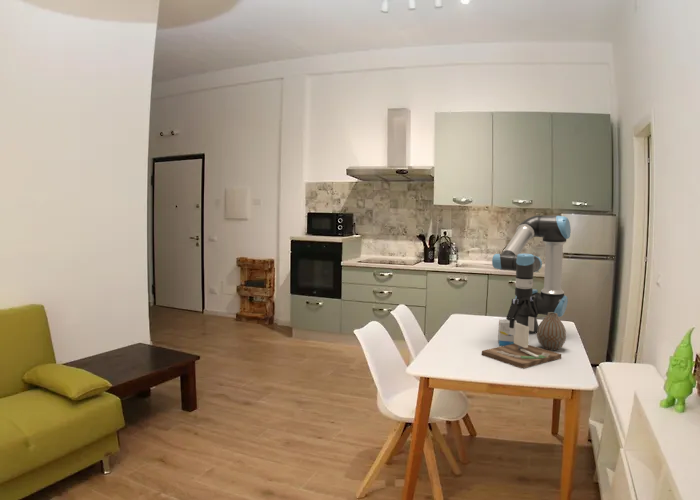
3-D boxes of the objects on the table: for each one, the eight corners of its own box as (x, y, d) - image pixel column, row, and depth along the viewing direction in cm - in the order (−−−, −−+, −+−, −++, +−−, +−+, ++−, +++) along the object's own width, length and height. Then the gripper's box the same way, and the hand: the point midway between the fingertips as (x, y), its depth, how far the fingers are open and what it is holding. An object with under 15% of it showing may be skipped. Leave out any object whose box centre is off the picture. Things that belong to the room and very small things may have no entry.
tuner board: (519, 346, 237) (520, 341, 237) (561, 358, 219) (561, 353, 219) (481, 354, 222) (481, 350, 221) (522, 368, 204) (523, 363, 203)
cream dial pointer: (513, 347, 227) (514, 323, 226) (517, 347, 227) (518, 322, 226) (535, 357, 211) (536, 331, 210) (539, 357, 212) (540, 331, 211)
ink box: (517, 347, 236) (518, 323, 235) (499, 345, 238) (500, 322, 237) (514, 342, 244) (516, 320, 244) (497, 341, 246) (498, 318, 245)
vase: (536, 350, 231) (538, 314, 230) (535, 343, 244) (537, 309, 242) (566, 353, 227) (568, 317, 226) (564, 346, 239) (566, 311, 238)
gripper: (513, 291, 211) (511, 338, 213) (547, 286, 225) (545, 330, 227) (499, 288, 217) (497, 334, 219) (533, 283, 231) (531, 327, 233)
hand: (521, 332), depth 223 cm, fingers open, 13 cm apart
